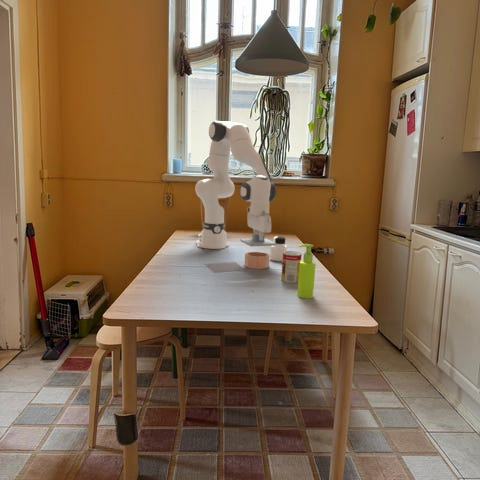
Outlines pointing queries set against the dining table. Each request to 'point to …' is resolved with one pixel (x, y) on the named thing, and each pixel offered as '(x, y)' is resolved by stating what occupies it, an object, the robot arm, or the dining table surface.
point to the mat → (225, 267)
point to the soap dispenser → (306, 274)
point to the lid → (258, 241)
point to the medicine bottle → (278, 249)
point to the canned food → (291, 266)
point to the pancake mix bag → (222, 202)
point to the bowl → (257, 260)
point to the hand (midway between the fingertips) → (258, 239)
